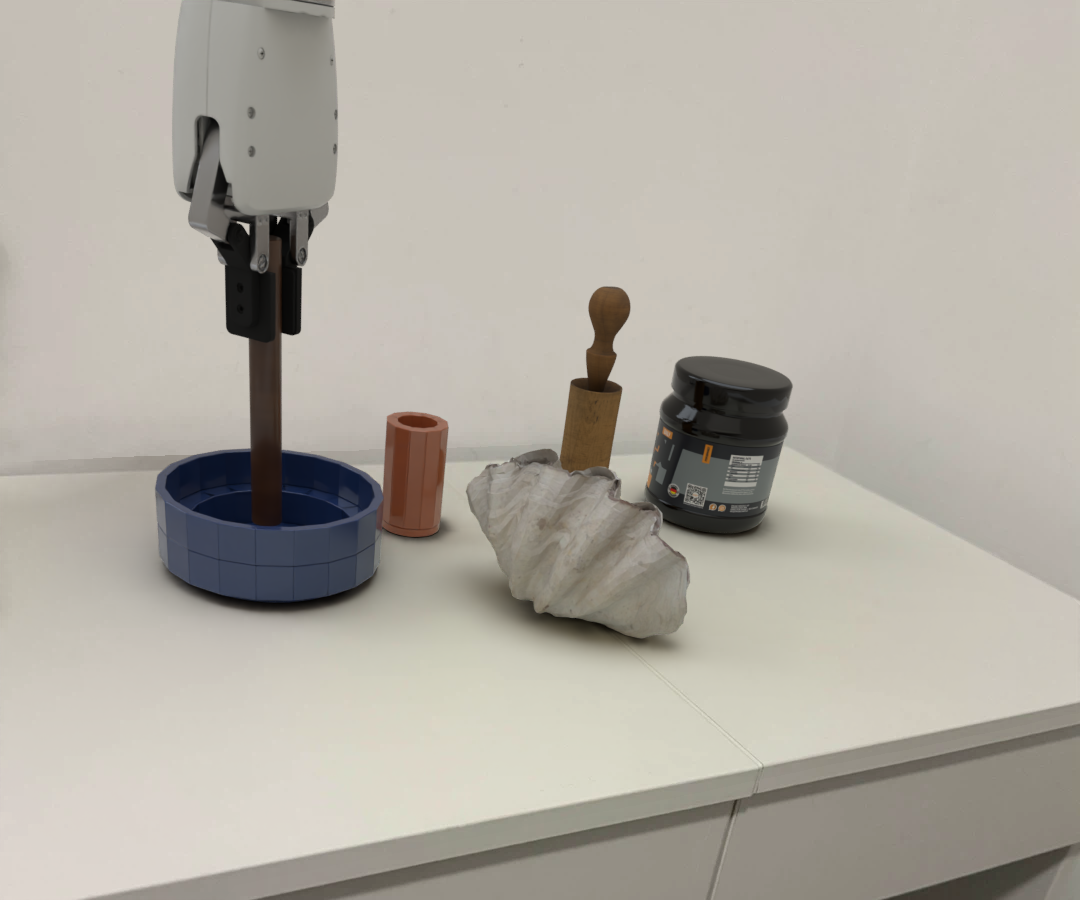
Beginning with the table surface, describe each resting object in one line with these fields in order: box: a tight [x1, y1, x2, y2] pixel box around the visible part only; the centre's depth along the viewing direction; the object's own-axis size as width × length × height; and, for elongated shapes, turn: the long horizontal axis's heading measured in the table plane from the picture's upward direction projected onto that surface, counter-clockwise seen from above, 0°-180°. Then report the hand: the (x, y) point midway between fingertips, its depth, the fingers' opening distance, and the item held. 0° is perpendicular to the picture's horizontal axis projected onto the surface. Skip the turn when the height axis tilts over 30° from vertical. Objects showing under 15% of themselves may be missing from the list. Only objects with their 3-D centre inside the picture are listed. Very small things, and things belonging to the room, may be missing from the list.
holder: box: [382, 411, 450, 538], centre depth 78 cm, size 4×4×8 cm
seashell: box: [465, 448, 691, 640], centre depth 69 cm, size 10×15×10 cm
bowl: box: [154, 448, 384, 604], centre depth 70 cm, size 14×14×6 cm
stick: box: [248, 235, 283, 526], centre depth 68 cm, size 2×2×18 cm
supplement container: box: [644, 355, 794, 535], centre depth 88 cm, size 10×10×12 cm
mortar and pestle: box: [559, 285, 631, 473], centre depth 80 cm, size 7×6×18 cm
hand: (264, 331), depth 66 cm, fingers closed on stick, 2 cm apart
